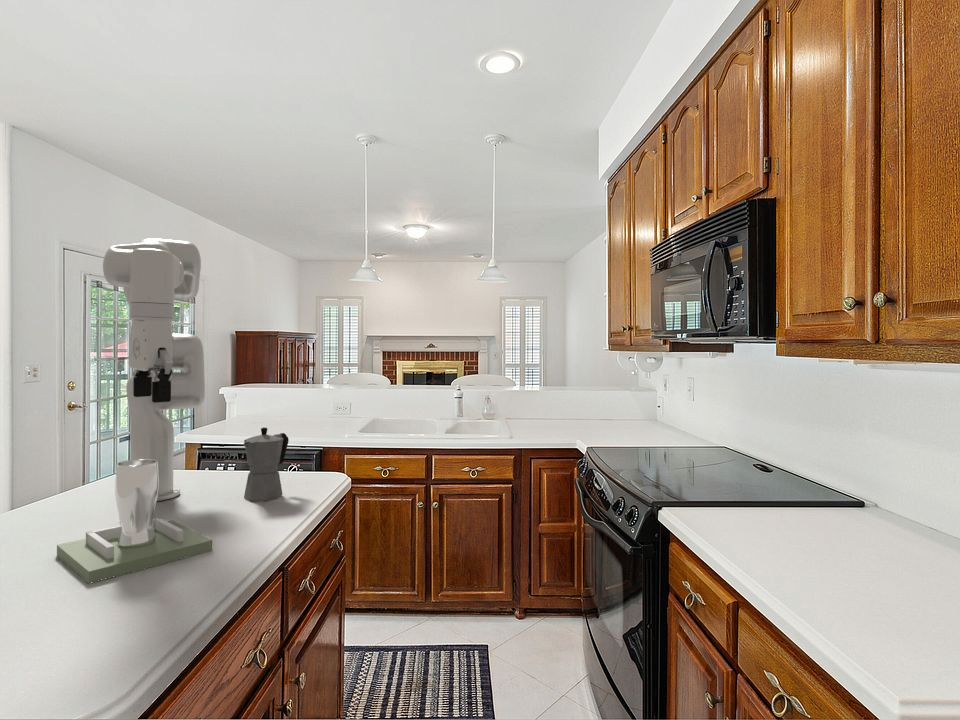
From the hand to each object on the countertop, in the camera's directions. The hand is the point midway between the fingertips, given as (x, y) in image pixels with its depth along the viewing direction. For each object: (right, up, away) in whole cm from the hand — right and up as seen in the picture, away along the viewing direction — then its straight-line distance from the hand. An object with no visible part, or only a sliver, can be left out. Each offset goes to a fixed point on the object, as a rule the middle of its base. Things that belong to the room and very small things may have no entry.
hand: (151, 399), depth 111 cm
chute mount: (+1, -28, -6) cm, 29 cm away
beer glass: (+1, -27, -6) cm, 27 cm away
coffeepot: (+10, -28, +34) cm, 45 cm away
